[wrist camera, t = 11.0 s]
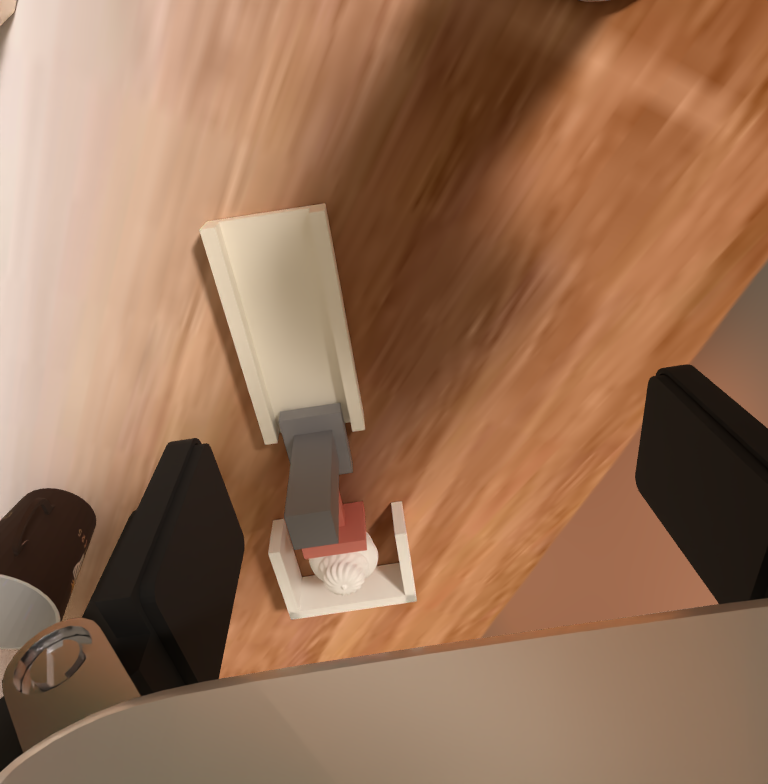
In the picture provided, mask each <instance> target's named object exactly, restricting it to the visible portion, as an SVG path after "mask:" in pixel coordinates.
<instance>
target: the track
mask: <svg viewBox="0 0 768 784" xmlns="http://www.w3.org/2000/svg"><path fill="white" fill-rule="evenodd" d="M199 231H200V234H201V237H202V241H203V244H204V247H205V250H206V254H207V257H208V260H209V263H210V267H211V270H212V273H213V276H214V280H215V283H216V286H217V289H218V293H219V296H220V299H221V303H222V306H223V309H224V312H225V316H226V319H227V322H228V325H229V329H230V332H231V335H232V338H233V342H234V345H235V348H236V351H237V355H238V358H239V361H240V365H241V368H242V371H243V374H244V378H245V381H246V384H247V387H248V391H249V394H250V397H251V400H252V404H253V407H254V410H255V413H256V417H257V420H258V423H259V426H260V430H261V433H262V436H263V440H264V443H265V445H267V444H274V443H278V438H279V433H281V429H280V426H279V422H278V420H279V415H280V411H287V410H294V409H300V408H307V407H314V406H320V405H327V404H334V403H340V404H341V409H342V413H343V418H344V423H348V422H351V427H352V432H354V431H361V430H365V423H364V412H363V407H362V401H361V396H360V390H359V385H358V379H357V374H356V368H355V363H354V357H353V352H352V346H351V341H350V335H349V330H348V324H347V319H346V313H345V308H344V302H343V297H342V291H341V286H340V280H339V275H338V269H337V264H336V258H335V253H334V247H333V242H332V237H331V231H330V226H329V220H328V215H327V209H326V204H325V203H323V204H317V205H310V206H304V207H297V208H291V209H284V210H278V211H271V212H265V213H258V214H251V215H245V216H238V217H232V218H225V219H219V220H212V221H206V223H205V224H204V225H203V226H202V227H201V228H200V229H199Z"/></svg>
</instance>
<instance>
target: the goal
mask: <svg viewBox="0 0 768 784" xmlns="http://www.w3.org/2000/svg"><path fill="white" fill-rule="evenodd" d="M391 507H392V515H393V524H394V532H395V539H396V545H397V551H398V556H399V562H400V563H394V564H387V565H380V566H376V568H375V570H374V571H373V572H372V573H371V574H370V575H369V576H368V577H367V578H365V579H364V580H365V581H364V583H363V584H362V587H361V588H360V589H358V590H357V591H356V592H355V593H351V594H350V595H348V594H345V595H344V596H342V595H341V594H339V595H336V594H334V593H332V592H330V591H329V590H328V589H327V587H326V586H325V585H324V582H323V581H322V580H321V579H319V578H318V577H317V576H316V575H312V576H306V577H302V576H301V572H300V569H299V566H298V563H297V560H296V556H295V553H294V550H293V547H292V544H291V540H290V537H289V534H288V531H287V528H286V524H285V521H284V519H279V520H273V524H272V531H271V537H270V544H269V551H268V555H269V558H270V560H271V563H272V566H273V569H274V572H275V575H276V578H277V581H278V583H279V586H280V589H281V592H282V595H283V598H284V601H285V604H286V606H287V609H288V612H289V615H290V618H291V620H293V619H299V618H306V617H313V616H320V615H327V614H333V613H340V612H347V611H354V610H361V609H367V608H374V607H381V606H388V605H395V604H401V603H408V602H415V601H417V599H416V592H415V585H414V578H413V571H412V564H411V558H410V551H409V545H408V538H407V532H406V525H405V519H404V512H403V506H402V501H400V502H393V503H391Z"/></svg>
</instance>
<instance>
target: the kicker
mask: <svg viewBox="0 0 768 784" xmlns="http://www.w3.org/2000/svg"><path fill="white" fill-rule="evenodd" d="M278 422H279V426H280V429H281V433H282V436H283V440H284V443H285V447H286V450H287V454H288V457H289V461H290V464H291V465H290V473H289V481H288V489H287V497H286V505H285V513H284V519H285V522H286V525H287V529H288V532H289V535H290V538H291V541H292V545H293V548H294V550H297V549H302V552H303V556H304V559H311V558H318V557H324V556H331V555H338V554H345V553H351V552H358V551H365V550H367V541H366V523H365V510H364V505H363V501H361V502H354V503H347V504H342V500H341V496H340V492H339V475H340V474H347V473H353V462H352V457H351V452H350V447H349V442H348V438H347V433H346V428H345V423H344V418H343V413H342V409H341V404H340V403H334V404H327V405H320V406H314V407H307V408H300V409H294V410H287V411H280V415H279V420H278Z"/></svg>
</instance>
